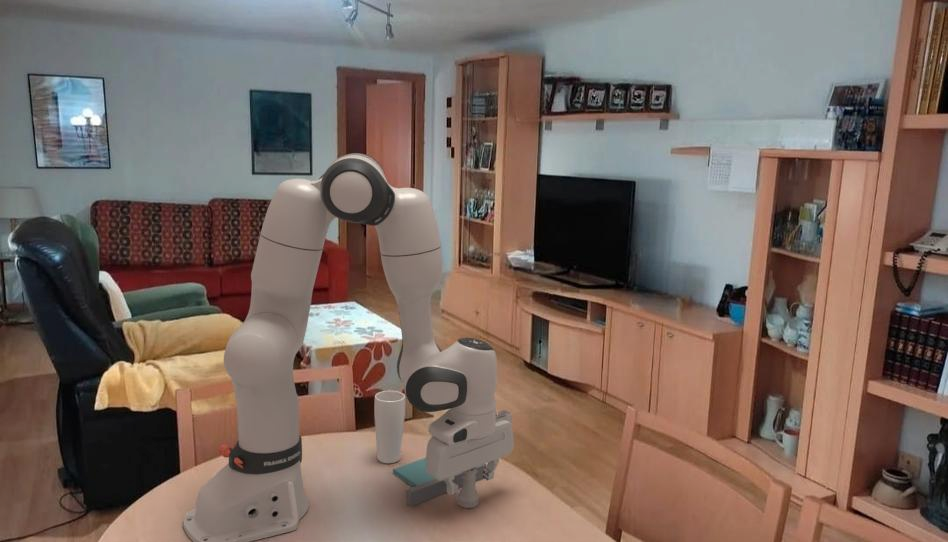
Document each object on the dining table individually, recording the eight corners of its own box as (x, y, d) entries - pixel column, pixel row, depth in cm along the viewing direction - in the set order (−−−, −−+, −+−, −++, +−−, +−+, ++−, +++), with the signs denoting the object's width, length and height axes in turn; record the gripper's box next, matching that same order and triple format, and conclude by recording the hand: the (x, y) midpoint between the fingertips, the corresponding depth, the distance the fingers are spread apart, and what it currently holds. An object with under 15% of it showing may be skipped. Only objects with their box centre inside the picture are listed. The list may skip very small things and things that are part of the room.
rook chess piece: (476, 510, 136) (478, 473, 134) (454, 507, 137) (456, 469, 135) (481, 499, 140) (482, 462, 139) (459, 496, 141) (461, 459, 140)
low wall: (410, 506, 136) (410, 492, 136) (405, 503, 137) (406, 489, 137) (485, 477, 149) (486, 464, 149) (481, 474, 150) (481, 461, 150)
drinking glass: (371, 453, 158) (372, 391, 155) (400, 450, 160) (402, 389, 157) (376, 467, 151) (377, 402, 148) (406, 464, 153) (408, 400, 150)
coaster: (420, 492, 142) (420, 487, 142) (392, 473, 149) (392, 468, 149) (458, 478, 148) (458, 473, 148) (429, 460, 156) (429, 456, 156)
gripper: (500, 403, 144) (498, 464, 147) (421, 427, 131) (420, 495, 133) (522, 412, 139) (519, 476, 142) (442, 439, 126) (440, 508, 129)
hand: (470, 485), depth 138 cm, fingers open, 8 cm apart
